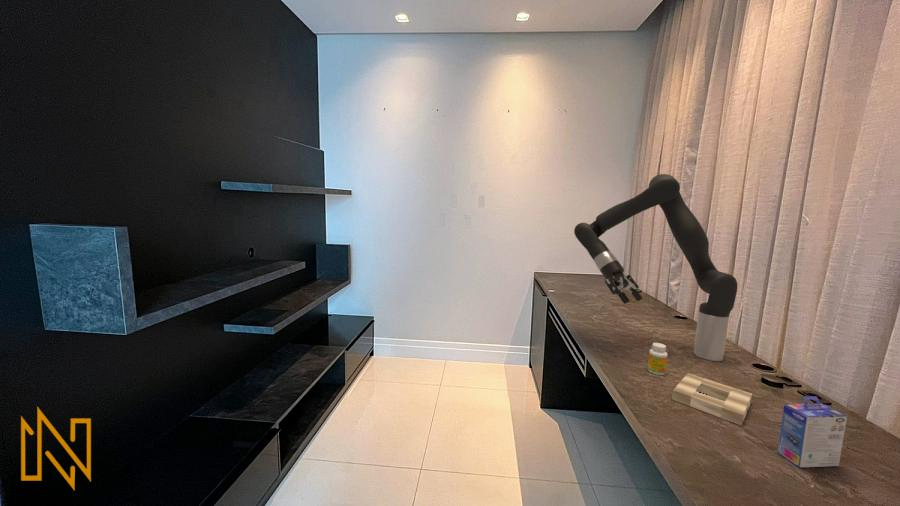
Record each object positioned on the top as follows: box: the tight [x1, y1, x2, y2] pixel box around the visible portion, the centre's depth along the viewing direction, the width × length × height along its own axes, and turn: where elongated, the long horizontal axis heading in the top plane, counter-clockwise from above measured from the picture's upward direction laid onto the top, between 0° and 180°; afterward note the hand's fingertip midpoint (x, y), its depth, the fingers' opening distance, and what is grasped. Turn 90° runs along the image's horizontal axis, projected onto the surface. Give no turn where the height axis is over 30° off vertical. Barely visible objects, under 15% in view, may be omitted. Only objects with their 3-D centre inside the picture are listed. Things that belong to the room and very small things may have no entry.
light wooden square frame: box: [671, 372, 753, 426], centre depth 101 cm, size 16×16×3 cm
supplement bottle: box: [647, 342, 668, 376], centre depth 118 cm, size 5×5×10 cm
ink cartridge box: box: [777, 395, 848, 468], centre depth 78 cm, size 10×6×14 cm, turn 95°
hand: (633, 301), depth 126 cm, fingers open, 8 cm apart
